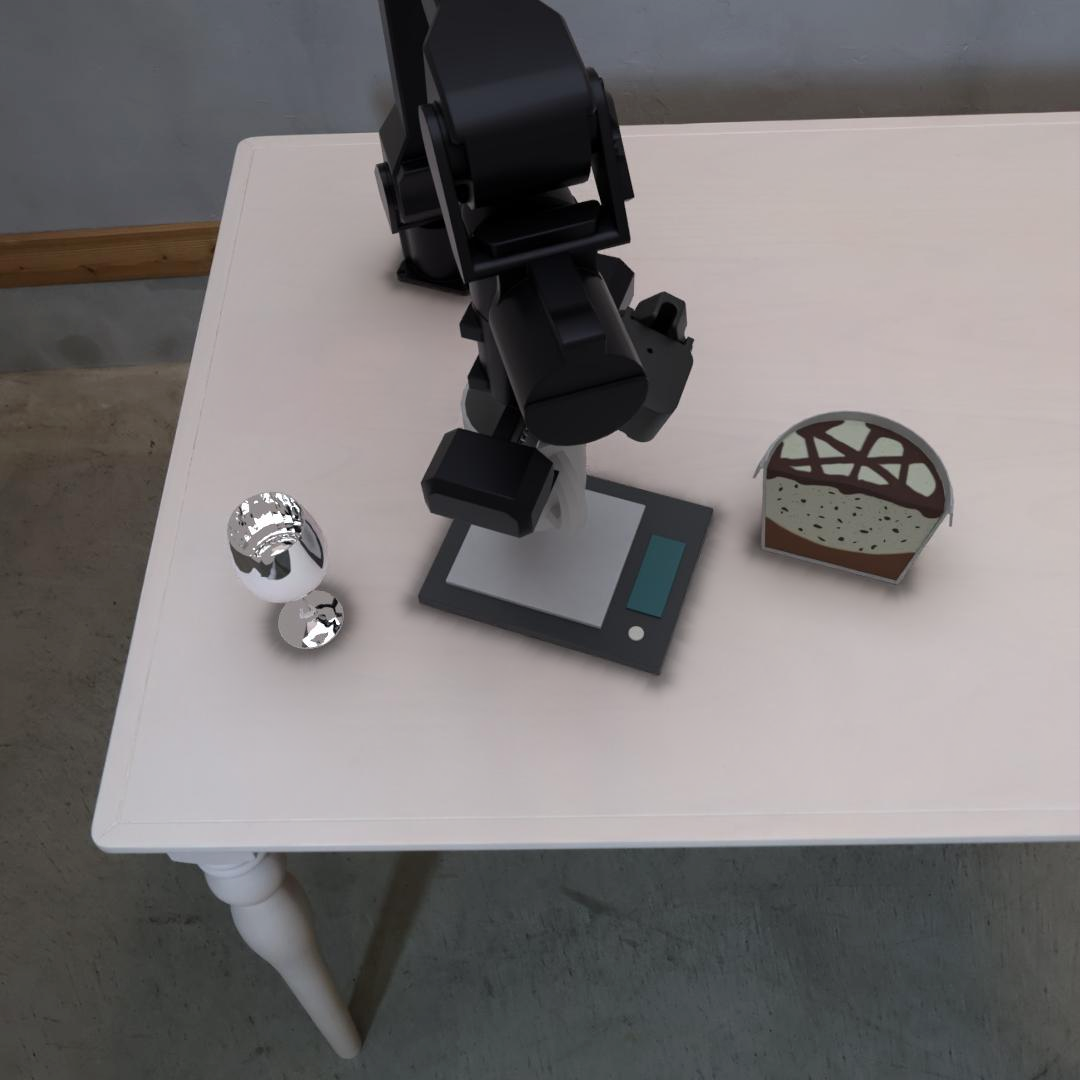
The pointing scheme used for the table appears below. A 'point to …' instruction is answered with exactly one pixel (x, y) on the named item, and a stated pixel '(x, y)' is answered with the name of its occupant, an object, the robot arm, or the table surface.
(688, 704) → the table surface
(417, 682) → the table surface
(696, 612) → the table surface
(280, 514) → the wineglass
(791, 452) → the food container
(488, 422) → the cup
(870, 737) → the table surface
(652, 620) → the scale
